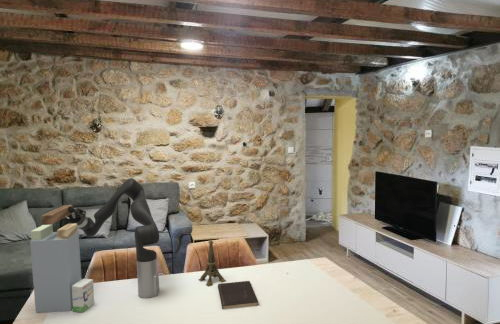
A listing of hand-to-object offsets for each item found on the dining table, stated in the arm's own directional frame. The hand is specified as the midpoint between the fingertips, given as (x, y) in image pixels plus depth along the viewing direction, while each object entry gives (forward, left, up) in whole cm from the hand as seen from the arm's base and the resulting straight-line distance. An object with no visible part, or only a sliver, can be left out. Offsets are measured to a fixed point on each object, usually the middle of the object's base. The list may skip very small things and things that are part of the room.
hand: (64, 208), depth 174 cm
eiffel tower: (-68, -8, -42) cm, 81 cm away
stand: (0, +11, -42) cm, 43 cm away
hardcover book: (-80, +11, -43) cm, 92 cm away
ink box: (-12, +15, -42) cm, 46 cm away
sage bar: (+5, +11, -10) cm, 16 cm away
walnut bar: (0, +6, -3) cm, 7 cm away
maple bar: (-6, +11, -10) cm, 16 cm away
